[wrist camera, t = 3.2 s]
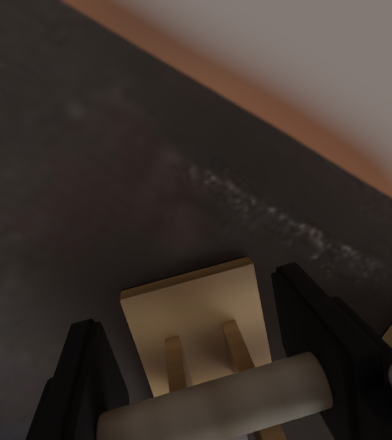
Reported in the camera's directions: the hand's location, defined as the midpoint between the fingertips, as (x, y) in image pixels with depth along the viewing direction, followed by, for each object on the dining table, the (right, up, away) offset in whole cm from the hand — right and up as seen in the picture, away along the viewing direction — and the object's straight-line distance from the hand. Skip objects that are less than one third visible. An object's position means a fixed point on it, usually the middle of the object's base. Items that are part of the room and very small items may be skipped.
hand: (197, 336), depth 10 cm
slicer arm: (+1, -4, +2) cm, 5 cm away
